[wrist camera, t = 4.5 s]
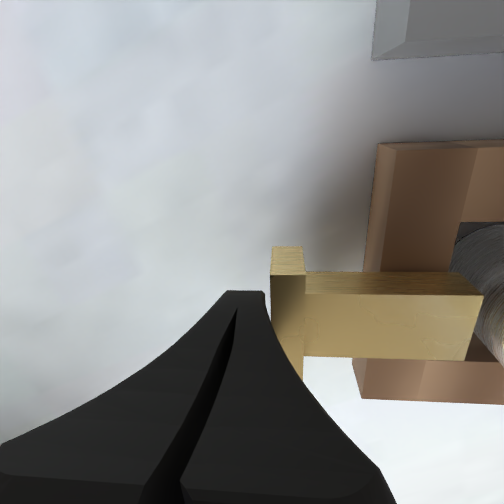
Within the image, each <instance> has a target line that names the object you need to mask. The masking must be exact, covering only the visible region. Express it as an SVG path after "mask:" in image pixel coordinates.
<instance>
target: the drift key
mask: <svg viewBox="0 0 504 504" xmlns="http://www.w3.org/2000/svg"><path fill="white" fill-rule="evenodd" d="M270 297H271V324H272V326H273V329H274V331H275V334H276V336H277V338H278V340H279V342H280V344H281V346H282V348H283V350H284V352H285V354H286V356H287V357H288V359H289V361H290V362H291V364H292V366H293V367H294V369H295V371H296V372H297V374H298V375H299V377H300V378H301V380H302V381H303V356H318V357H350V358H383V359H416V360H448V361H464V359H465V356H466V353H467V350H468V346H469V343H470V340H471V337H472V334H473V330H474V327H475V324H476V321H477V317H478V314H479V311H480V308H481V305H482V301H483V298H484V295H483V294H482V293H481V292H480V291H479V290H477V289H476V288H475V287H474V286H473V285H472V284H471V283H470V282H469V281H468V280H467V279H466V278H465V277H463V276H462V275H461V274H460V273H459V272H305V264H304V257H303V250H302V246H276V247H272V256H271V269H270Z"/></svg>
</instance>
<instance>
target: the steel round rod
mask: <svg viewBox="0 0 504 504" xmlns="http://www.w3.org/2000/svg"><path fill="white" fill-rule="evenodd" d="M448 272H459V273H460V274H461V275H462V276H463V277H465V278H466V279H467V280H468V281H469V282H470V283H471V284H472V285H473V286H474V287H475V288H476V289H477V290H479V291H480V292H481V293H482V294H483V295H484V298H483V301H482V305H481V308H480V311H479V314H478V317H477V321H476V324H475V327H474V330H473V332H474V333H475V334H476V335H477V337H478V338H479V339H480V340H481V341H482V342H483V344H484V345H485V346H486V347H487V348H488V349H489V351H490V352H491V353H492V354H493V355H494V356H495V358H496V359H497V360H498V361H499V362H500V363H501V365H502V366H503V367H504V224H497V225H492V226H488V227H485V228H482V229H479V230H477V231H475V232H473V233H471V234H469V235H468V236H466V237H464V238H463V239H462V240H460V241H459V242H458V243H457V244H456V245H455V246H454V249H453V254H452V258H451V262H450V266H449V270H448Z"/></svg>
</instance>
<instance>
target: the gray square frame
mask: <svg viewBox="0 0 504 504" xmlns="http://www.w3.org/2000/svg"><path fill="white" fill-rule="evenodd" d="M500 52H504V0H377V5H376V15H375V26H374V36H373V46H372V56H371V60H387V59H404V58H420V57H436V56H452V55H468V54H484V53H500Z"/></svg>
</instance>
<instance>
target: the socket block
mask: <svg viewBox="0 0 504 504" xmlns="http://www.w3.org/2000/svg"><path fill="white" fill-rule="evenodd" d="M460 222H504V139H491V140H463V141H436V142H408V143H380V144H378V146H377V154H376V163H375V171H374V180H373V188H372V197H371V206H370V214H369V223H368V231H367V240H366V248H365V257H364V265H363V272H448V270H449V266H450V262H451V258H452V254H453V249H454V245H455V241H456V237H457V233H458V229H459V225H460ZM352 365H353V369H354V373H355V376H356V380H357V384H358V387H359V391H360V395H361V398H362V399H381V400H404V401H428V402H451V403H474V404H497V405H504V367H503V366H502V365H501V363H500V362H499V361H498V360H497V359H496V358H495V356H494V355H493V354H492V353H491V352H490V351H489V349H488V348H487V347H486V346H485V345H484V344H483V342H482V341H481V340H480V339H479V338H478V337H477V335H476V334H475V333H474V332H473V334H472V337H471V340H470V343H469V346H468V350H467V353H466V356H465V359H464V361H448V360H416V359H383V358H353V360H352Z"/></svg>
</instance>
